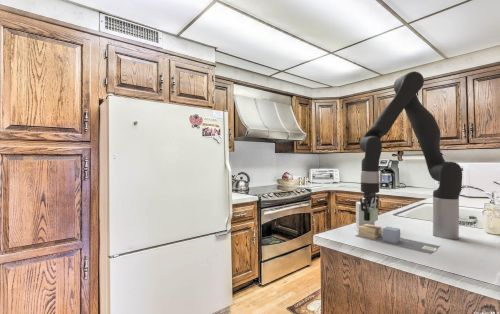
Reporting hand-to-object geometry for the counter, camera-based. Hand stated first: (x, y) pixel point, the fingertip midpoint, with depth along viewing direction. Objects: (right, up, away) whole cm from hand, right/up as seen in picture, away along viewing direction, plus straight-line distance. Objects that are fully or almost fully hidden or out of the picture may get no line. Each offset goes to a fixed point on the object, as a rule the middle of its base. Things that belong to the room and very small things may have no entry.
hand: (369, 219), depth 118 cm
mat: (+7, -8, -7) cm, 13 cm away
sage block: (0, 0, 0) cm, 0 cm away
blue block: (+6, -7, -7) cm, 12 cm away
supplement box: (+4, -8, +13) cm, 16 cm away
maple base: (0, -7, 0) cm, 7 cm away
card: (+15, -7, -17) cm, 24 cm away
